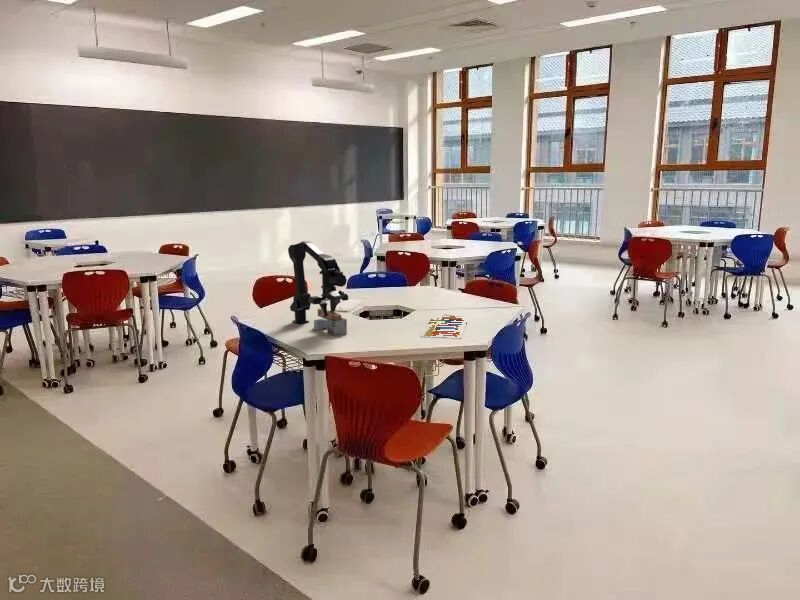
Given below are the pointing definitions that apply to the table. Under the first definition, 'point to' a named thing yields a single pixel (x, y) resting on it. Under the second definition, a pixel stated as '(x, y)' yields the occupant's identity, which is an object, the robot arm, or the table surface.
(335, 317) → the rail
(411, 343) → the table surface
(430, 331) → the multicolored flat board
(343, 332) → the cup bracket
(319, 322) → the support post
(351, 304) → the baseboard
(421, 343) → the table surface
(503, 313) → the table surface
